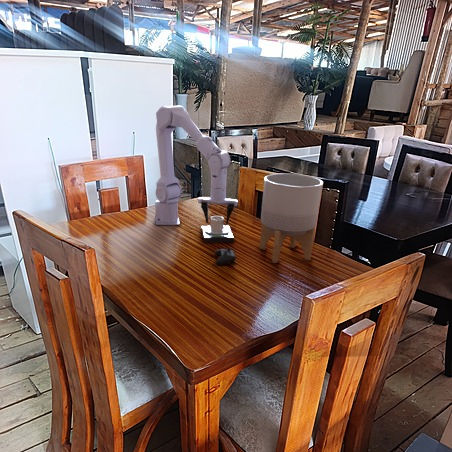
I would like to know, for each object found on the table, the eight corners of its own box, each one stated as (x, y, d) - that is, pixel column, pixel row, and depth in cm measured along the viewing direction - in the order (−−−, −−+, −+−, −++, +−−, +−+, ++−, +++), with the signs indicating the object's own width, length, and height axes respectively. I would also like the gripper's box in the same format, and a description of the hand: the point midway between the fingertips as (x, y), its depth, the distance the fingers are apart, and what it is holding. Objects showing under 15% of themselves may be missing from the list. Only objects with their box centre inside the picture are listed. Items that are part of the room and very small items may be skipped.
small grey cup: (209, 231, 152) (209, 219, 149) (210, 226, 156) (211, 215, 154) (223, 232, 151) (223, 220, 149) (224, 227, 156) (224, 216, 154)
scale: (204, 242, 148) (204, 236, 147) (201, 230, 159) (201, 224, 158) (233, 242, 149) (233, 236, 148) (228, 230, 161) (228, 224, 159)
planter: (300, 269, 131) (312, 190, 118) (248, 256, 138) (254, 180, 126) (317, 251, 145) (330, 179, 133) (270, 240, 153) (278, 170, 140)
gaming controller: (213, 252, 138) (225, 240, 136) (223, 262, 140) (236, 251, 138) (214, 263, 129) (228, 251, 128) (225, 274, 132) (239, 262, 130)
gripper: (238, 185, 149) (236, 220, 156) (200, 183, 150) (199, 218, 156) (237, 190, 143) (235, 226, 150) (197, 187, 144) (197, 224, 150)
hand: (217, 222), depth 153 cm, fingers open, 7 cm apart
